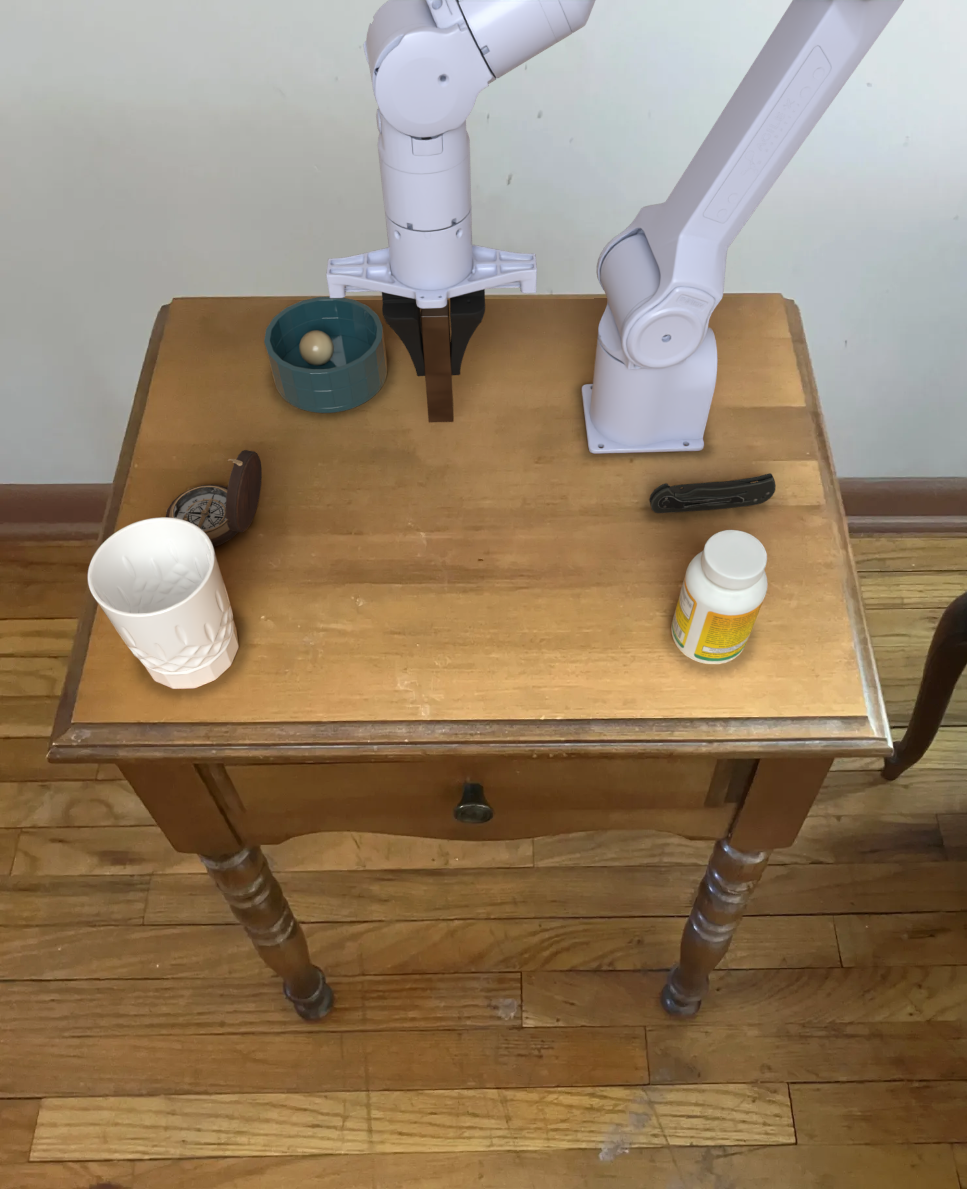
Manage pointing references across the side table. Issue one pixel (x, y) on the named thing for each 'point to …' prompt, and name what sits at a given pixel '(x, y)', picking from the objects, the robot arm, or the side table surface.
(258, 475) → the compass
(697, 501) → the folding knife
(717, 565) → the supplement bottle
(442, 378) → the stirring stick
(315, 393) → the bowl
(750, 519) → the side table surface
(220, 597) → the white cup
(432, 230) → the robot arm
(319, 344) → the bead
